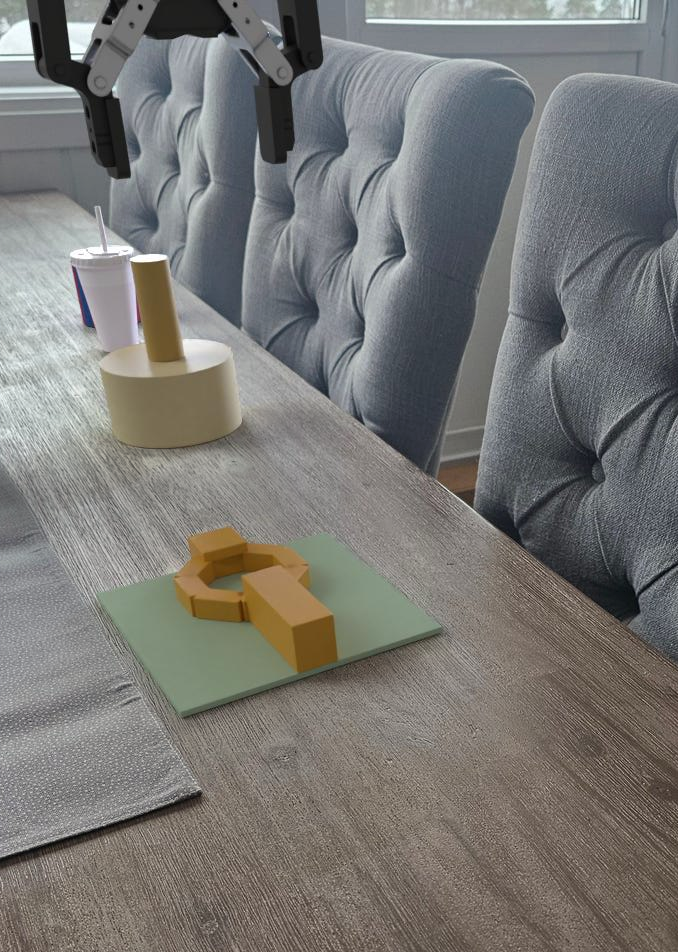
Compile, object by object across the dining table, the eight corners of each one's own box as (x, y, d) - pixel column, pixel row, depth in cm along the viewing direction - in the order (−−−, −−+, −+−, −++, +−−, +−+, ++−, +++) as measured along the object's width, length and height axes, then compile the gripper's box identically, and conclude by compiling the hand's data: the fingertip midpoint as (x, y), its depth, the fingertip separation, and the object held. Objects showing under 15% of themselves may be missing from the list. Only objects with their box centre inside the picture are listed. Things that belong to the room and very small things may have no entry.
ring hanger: (156, 573, 73) (147, 531, 71) (268, 543, 76) (262, 502, 75) (253, 688, 61) (245, 641, 59) (380, 647, 64) (376, 601, 63)
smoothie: (118, 359, 115) (89, 214, 107) (76, 350, 118) (45, 208, 110) (164, 343, 119) (140, 203, 112) (123, 335, 122) (96, 198, 115)
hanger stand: (135, 458, 91) (100, 281, 84) (97, 420, 99) (62, 255, 92) (261, 430, 96) (238, 260, 89) (215, 396, 104) (191, 237, 97)
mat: (181, 718, 59) (180, 712, 59) (96, 599, 71) (95, 593, 71) (442, 632, 66) (442, 626, 66) (326, 536, 78) (326, 531, 78)
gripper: (265, -201, 57) (295, 150, 65) (-32, -218, 51) (45, 172, 59) (326, -218, 51) (350, 167, 60) (2, -239, 45) (81, 193, 54)
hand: (198, 169), depth 60 cm, fingers open, 8 cm apart
